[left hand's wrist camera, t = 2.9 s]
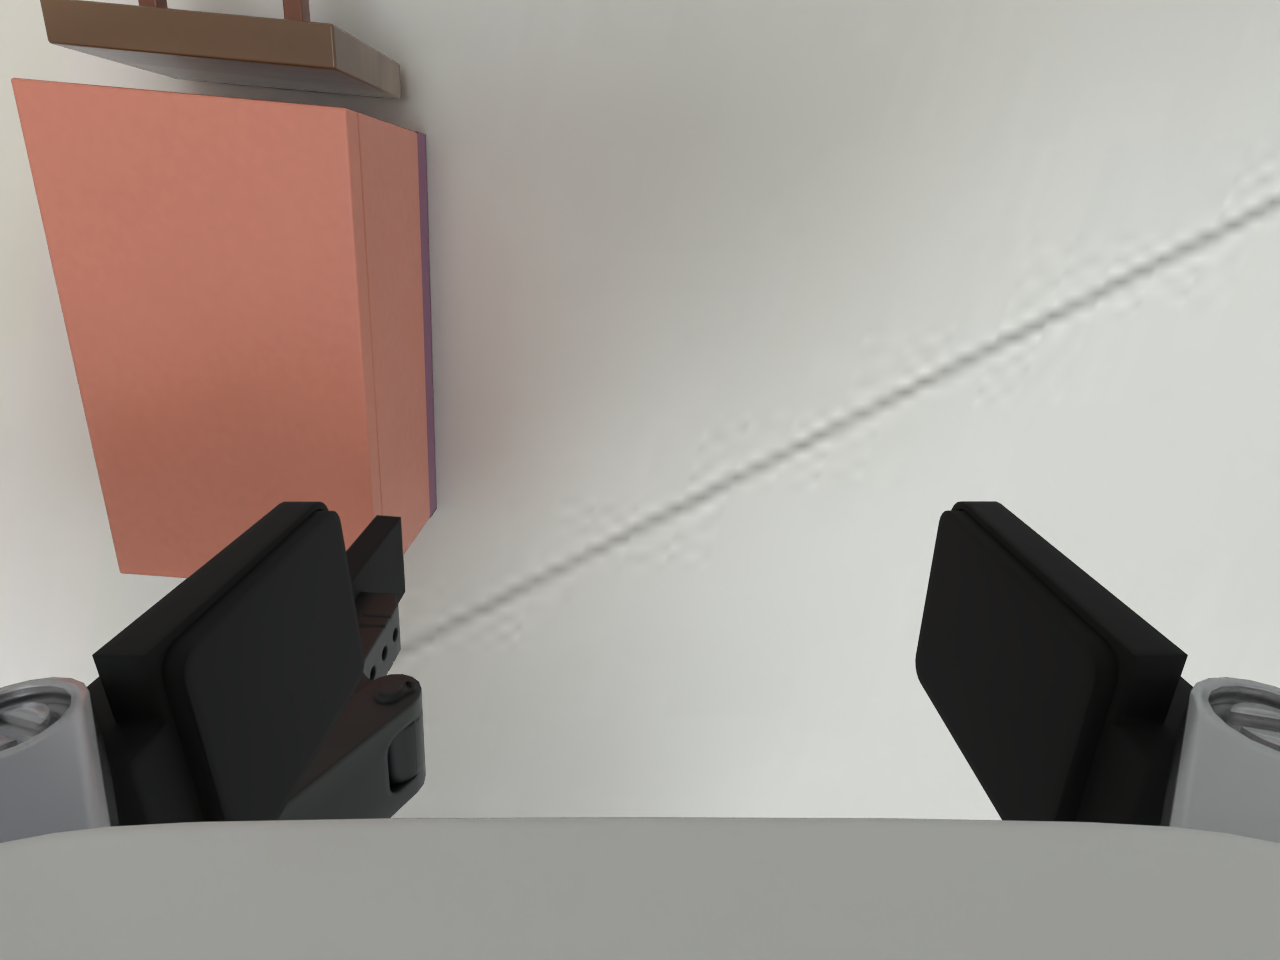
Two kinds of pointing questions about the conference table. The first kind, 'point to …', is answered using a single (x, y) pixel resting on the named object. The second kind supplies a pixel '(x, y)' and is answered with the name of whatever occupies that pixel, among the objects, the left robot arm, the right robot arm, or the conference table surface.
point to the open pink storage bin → (238, 310)
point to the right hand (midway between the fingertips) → (176, 537)
